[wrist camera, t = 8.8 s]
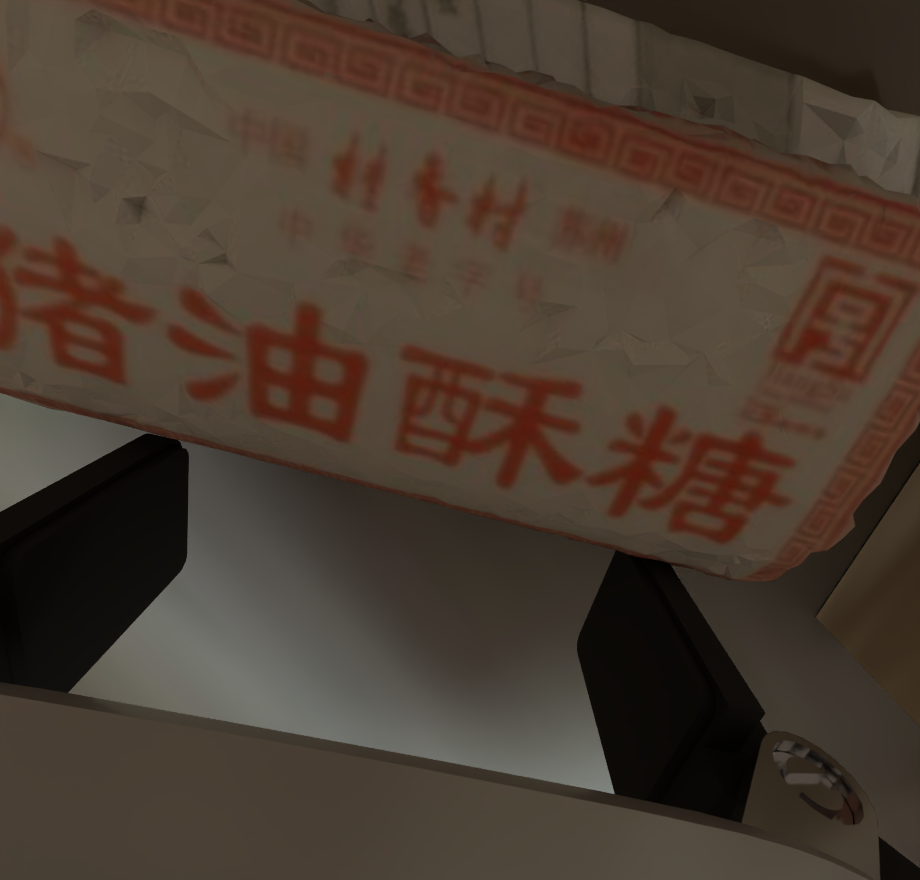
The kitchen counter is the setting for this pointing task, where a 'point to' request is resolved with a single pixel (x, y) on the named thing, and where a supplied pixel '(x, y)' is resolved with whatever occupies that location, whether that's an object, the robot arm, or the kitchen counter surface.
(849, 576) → the wooden frame
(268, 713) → the kitchen counter surface
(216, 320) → the packaged product
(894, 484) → the kitchen counter surface
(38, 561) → the robot arm
